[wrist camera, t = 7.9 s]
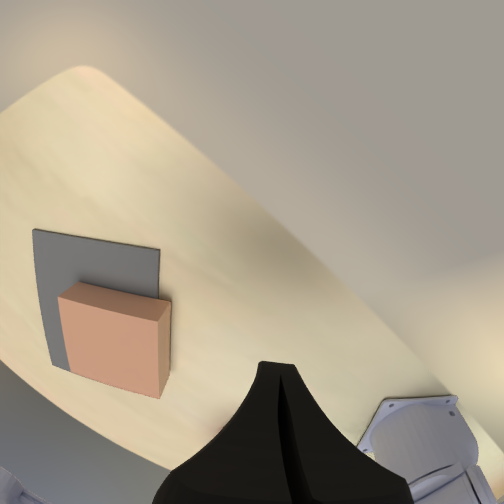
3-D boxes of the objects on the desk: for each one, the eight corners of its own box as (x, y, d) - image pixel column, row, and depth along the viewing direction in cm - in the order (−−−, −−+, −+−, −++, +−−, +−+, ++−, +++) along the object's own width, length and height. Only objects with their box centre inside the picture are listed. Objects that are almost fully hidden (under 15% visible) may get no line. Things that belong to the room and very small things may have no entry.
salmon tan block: (157, 321, 18) (57, 296, 18) (159, 399, 20) (70, 371, 20) (171, 300, 22) (79, 280, 22) (170, 374, 24) (87, 351, 24)
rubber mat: (160, 249, 21) (158, 251, 20) (160, 396, 25) (159, 398, 24) (34, 229, 21) (32, 229, 21) (53, 363, 25) (52, 365, 25)
